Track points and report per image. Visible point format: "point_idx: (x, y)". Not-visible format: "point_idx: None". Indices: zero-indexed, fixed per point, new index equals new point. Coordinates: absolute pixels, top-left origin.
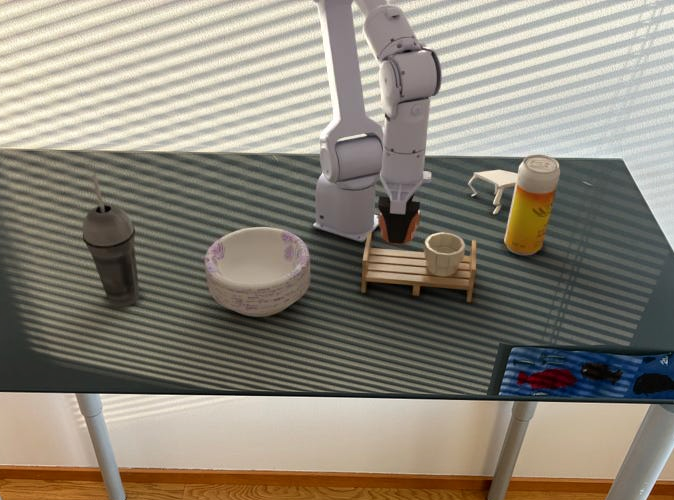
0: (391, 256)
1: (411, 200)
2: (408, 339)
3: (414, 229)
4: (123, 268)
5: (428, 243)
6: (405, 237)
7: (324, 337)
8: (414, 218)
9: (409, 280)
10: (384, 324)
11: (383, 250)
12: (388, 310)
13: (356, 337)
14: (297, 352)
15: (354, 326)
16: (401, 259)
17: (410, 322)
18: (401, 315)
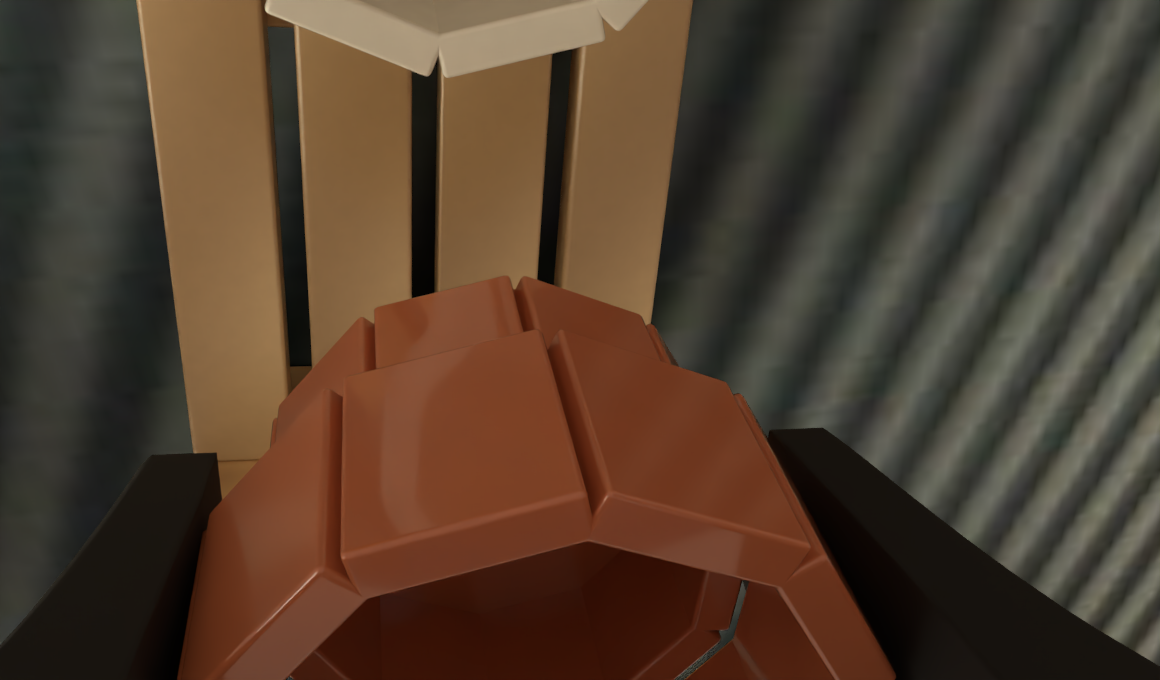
0: (282, 283)
1: (131, 674)
2: (1142, 16)
3: (737, 401)
4: None
5: (486, 25)
6: (880, 474)
7: (1022, 506)
8: (802, 557)
9: (676, 98)
10: (956, 196)
11: (210, 363)
12: (805, 181)
13: (1053, 350)
14: (1110, 594)
15: (950, 374)
16: (333, 193)
17: (958, 7)
18: (869, 82)
